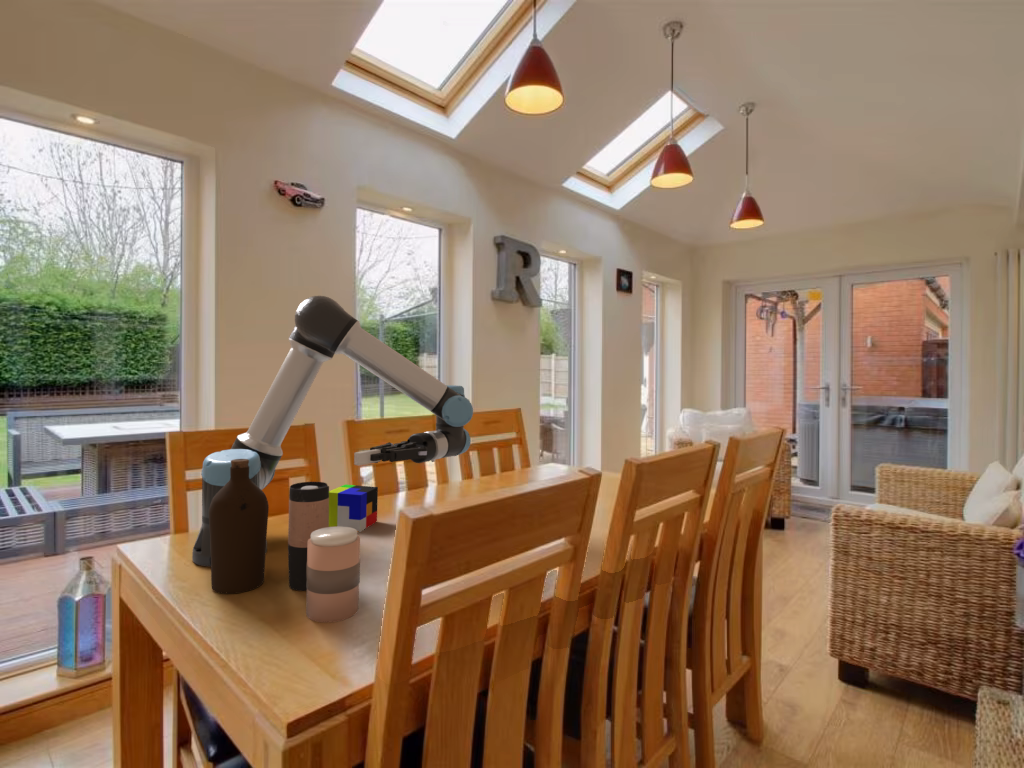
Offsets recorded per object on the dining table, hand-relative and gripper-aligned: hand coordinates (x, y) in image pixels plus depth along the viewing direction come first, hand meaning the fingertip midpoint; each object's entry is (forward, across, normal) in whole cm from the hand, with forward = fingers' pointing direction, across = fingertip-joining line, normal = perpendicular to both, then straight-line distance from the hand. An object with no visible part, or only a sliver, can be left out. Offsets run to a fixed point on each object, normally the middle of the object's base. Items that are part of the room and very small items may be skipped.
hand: (356, 459), depth 119 cm
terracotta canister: (+18, -13, -24) cm, 32 cm away
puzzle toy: (-20, +23, -24) cm, 39 cm away
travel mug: (+12, 0, -24) cm, 27 cm away
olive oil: (+20, +11, -24) cm, 33 cm away
